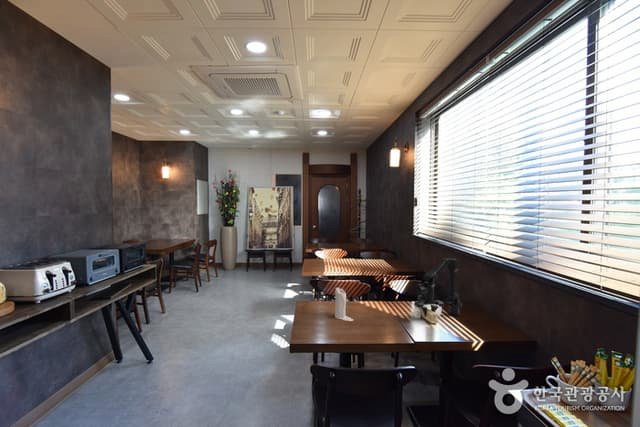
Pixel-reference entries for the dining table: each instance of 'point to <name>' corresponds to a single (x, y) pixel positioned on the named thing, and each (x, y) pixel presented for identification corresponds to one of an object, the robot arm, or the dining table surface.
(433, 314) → the rail
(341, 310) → the white boot
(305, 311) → the dining table surface
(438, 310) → the headboard
